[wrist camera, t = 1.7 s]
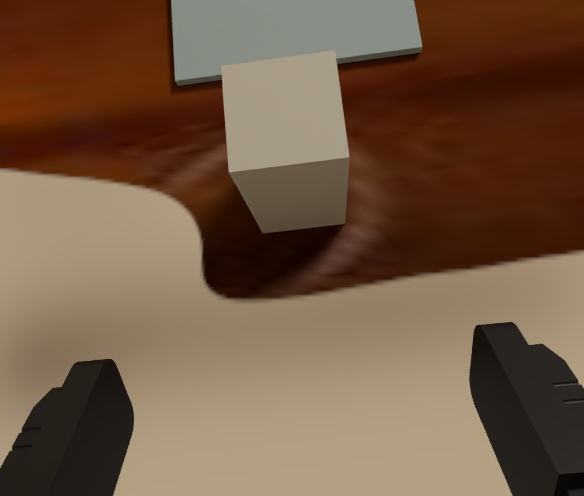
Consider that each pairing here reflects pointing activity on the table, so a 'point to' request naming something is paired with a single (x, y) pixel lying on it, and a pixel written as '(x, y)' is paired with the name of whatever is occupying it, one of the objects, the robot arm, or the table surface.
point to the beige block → (288, 140)
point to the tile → (286, 32)
